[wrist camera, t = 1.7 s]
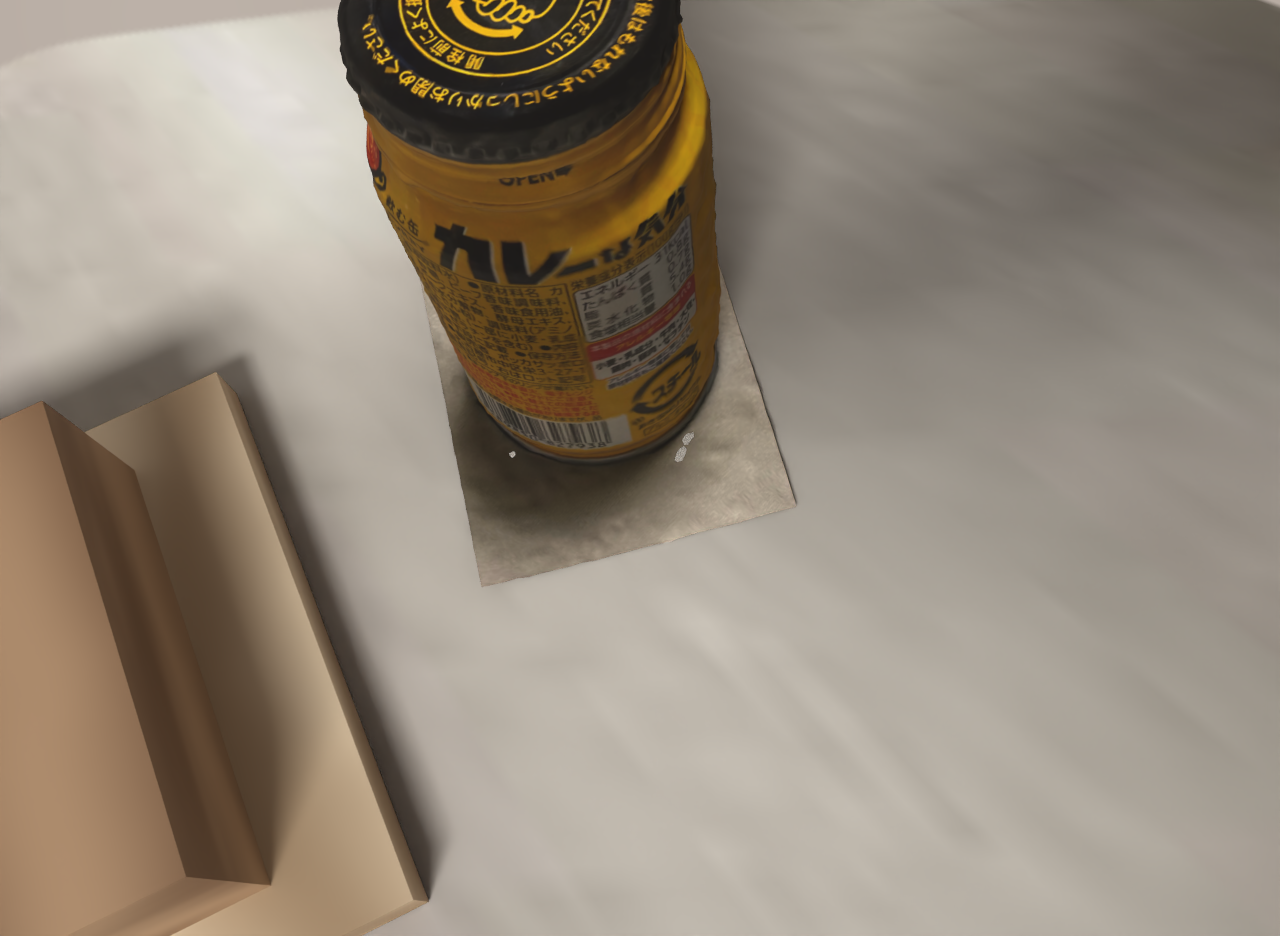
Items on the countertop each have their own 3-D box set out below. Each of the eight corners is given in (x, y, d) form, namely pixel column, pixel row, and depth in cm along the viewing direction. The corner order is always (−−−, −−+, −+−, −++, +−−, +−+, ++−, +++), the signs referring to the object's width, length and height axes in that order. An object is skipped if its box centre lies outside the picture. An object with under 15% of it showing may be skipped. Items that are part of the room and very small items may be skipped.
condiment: (699, 206, 30) (668, -226, 19) (796, 509, 27) (828, 206, 16) (420, 278, 30) (224, -111, 19) (484, 591, 27) (293, 346, 16)
